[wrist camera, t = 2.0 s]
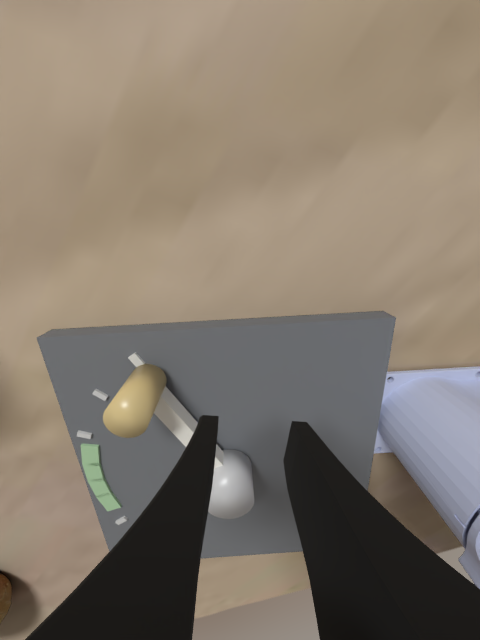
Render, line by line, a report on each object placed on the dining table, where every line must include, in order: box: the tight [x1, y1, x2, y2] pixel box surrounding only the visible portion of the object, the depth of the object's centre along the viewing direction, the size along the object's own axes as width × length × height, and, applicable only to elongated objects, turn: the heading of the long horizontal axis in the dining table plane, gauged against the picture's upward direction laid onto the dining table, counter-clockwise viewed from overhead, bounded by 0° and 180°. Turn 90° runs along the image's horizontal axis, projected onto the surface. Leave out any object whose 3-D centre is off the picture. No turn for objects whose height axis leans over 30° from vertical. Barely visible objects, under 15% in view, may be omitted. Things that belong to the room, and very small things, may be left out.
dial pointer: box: [103, 364, 254, 519], centre depth 17 cm, size 13×4×4 cm, turn 33°
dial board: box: [37, 311, 396, 558], centre depth 21 cm, size 24×24×2 cm
